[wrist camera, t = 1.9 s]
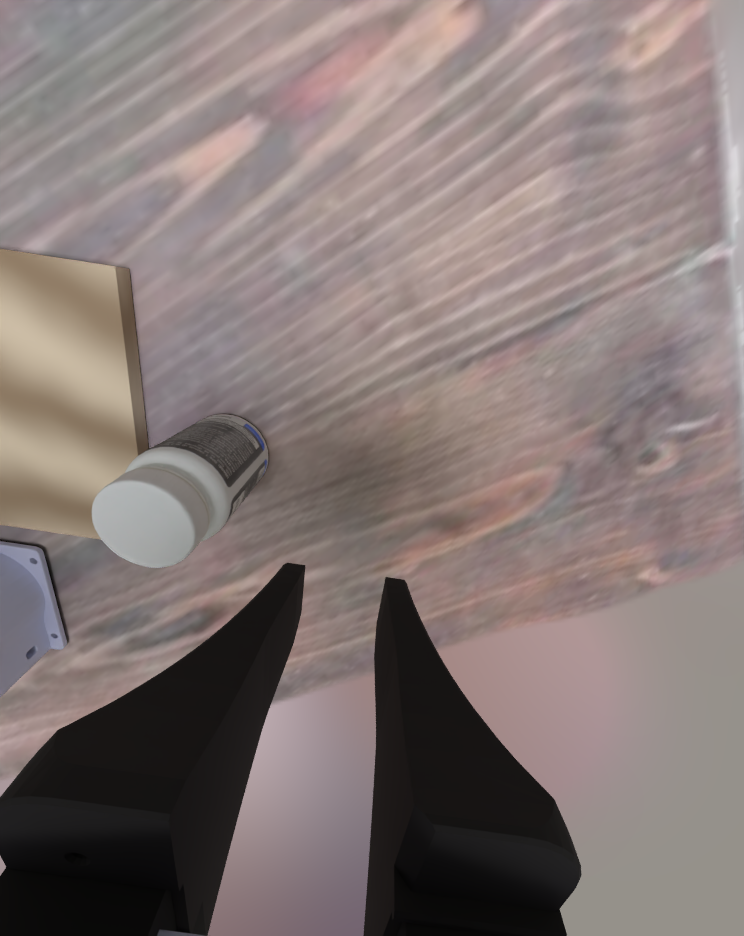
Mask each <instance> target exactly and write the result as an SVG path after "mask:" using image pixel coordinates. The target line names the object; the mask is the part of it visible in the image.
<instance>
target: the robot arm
mask: <svg viewBox="0 0 744 936" xmlns="http://www.w3.org/2000/svg"><path fill="white" fill-rule="evenodd" d="M304 575H305V565H299V564H292V563H286V564H284V565H283V566H282V568H281V569H280V570H279V571H278V572H277V574H276V575H275V576H274V577H273V578H272V579H271V580H270V582H269V583H268V584H267V585H266V586H265V587H264V588H263V589H262V590H261V591H260V592H259V593H258V594H257V595H256V596H255V597H254V598H253V599H252V600H251V601H250V602H249V603H248V604H247V605H246V606H245V607H244V608H243V609H242V610H241V611H240V612H239V613H238V614H237V615H235V616H234V617H233V618H232V619H231V620H230V621H229V622H228V623H227V624H225V625H224V626H223V627H222V628H221V629H220V630H218V631H217V632H216V633H215V634H214V635H212V636H211V637H210V638H209V639H207V640H206V641H205V642H203V643H202V644H201V645H200V646H198V647H197V648H196V649H194V650H193V651H192V652H190V653H189V654H187V655H186V656H185V657H183V658H182V659H180V660H179V661H177V662H176V663H175V664H173V665H172V666H170V667H169V668H167V669H166V670H164V671H163V672H161V673H160V674H158V675H157V676H155V677H153V678H152V679H150V680H148V681H147V682H145V683H143V684H142V685H140V686H139V687H137V688H135V689H134V690H132V691H130V692H129V693H127V694H125V695H124V696H122V697H120V698H118V699H117V700H115V701H113V702H111V703H110V704H108V705H106V706H104V707H102V708H100V709H98V710H96V711H94V712H92V713H90V714H88V715H87V716H85V717H83V718H81V719H79V720H77V721H75V722H73V723H71V724H69V725H67V726H65V727H63V728H61V729H59V730H57V732H56V733H55V734H54V735H53V736H52V737H51V738H50V739H49V740H48V741H47V742H46V743H45V744H44V746H43V747H42V748H41V749H40V750H39V751H38V752H37V753H36V754H35V755H34V757H33V758H32V759H31V760H30V761H29V762H28V764H27V765H26V766H25V767H24V768H23V770H22V771H21V772H20V773H19V775H18V776H17V777H16V778H15V780H14V781H13V782H12V783H11V785H10V786H9V787H8V788H7V789H6V791H5V792H4V793H3V795H2V796H1V797H0V856H1V858H2V860H3V861H4V863H5V865H6V869H5V870H4V872H3V873H2V874H1V876H0V936H207V935H208V931H209V927H210V923H211V919H212V915H213V911H214V907H215V903H216V899H217V895H218V891H219V887H220V884H221V880H222V876H223V872H224V868H225V864H226V860H227V856H228V853H229V849H230V845H231V841H232V837H233V834H234V830H235V826H236V822H237V818H238V814H239V811H240V807H241V804H242V799H243V796H244V793H245V789H246V785H247V782H248V778H249V774H250V770H251V767H252V763H253V759H254V756H255V753H256V749H257V746H258V742H259V738H260V735H261V731H262V728H263V725H264V722H265V719H266V716H267V713H268V710H269V708H270V705H271V702H272V700H273V697H274V694H275V691H276V689H277V686H278V683H279V681H280V678H281V675H282V673H283V670H284V667H285V665H286V662H287V659H288V657H289V654H290V651H291V648H292V646H293V643H294V639H295V635H296V632H297V628H298V624H299V620H300V616H301V610H302V598H303V587H304ZM66 645H67V640H66V636H65V632H64V629H63V625H62V621H61V617H60V613H59V609H58V606H57V602H56V598H55V594H54V590H53V586H52V583H51V579H50V575H49V571H48V567H47V563H46V560H45V556H44V552H43V550H42V549H41V548H39V547H36V546H30V545H23V544H17V543H10V542H3V541H0V697H1V696H2V695H3V694H4V693H5V692H6V691H7V690H8V689H9V688H10V687H11V686H12V685H14V684H15V683H16V682H17V681H18V680H19V679H20V678H21V677H22V676H23V675H24V674H25V673H26V672H27V671H28V670H29V669H30V668H31V667H32V666H33V665H34V664H35V663H36V662H37V661H38V660H39V659H40V658H41V657H42V656H43V655H44V654H45V653H46V652H47V651H48V650H50V648H51V649H58V650H60V649H63V648H64V647H65V646H66ZM374 660H375V697H376V699H375V700H376V756H375V774H374V791H373V808H372V823H371V838H370V853H369V868H368V883H367V896H366V910H365V925H364V936H567V934H566V930H565V927H564V924H563V920H562V916H561V913H560V910H559V909H560V908H561V906H562V905H563V903H564V902H565V901H566V899H568V897H569V896H570V895H571V893H572V892H573V891H574V889H575V888H576V886H577V884H578V882H579V880H580V877H581V865H580V862H579V859H578V857H577V853H576V851H575V848H574V845H573V842H572V839H571V837H570V835H569V832H568V829H567V827H566V825H565V822H564V820H563V818H562V816H561V813H560V811H559V809H558V807H557V804H556V802H555V800H554V799H553V798H552V796H550V794H549V793H548V792H547V791H546V790H545V789H544V788H543V787H542V786H541V785H540V784H539V783H538V782H537V781H536V780H535V779H534V778H533V777H532V776H531V775H530V774H529V773H528V772H527V771H526V770H525V769H524V768H523V767H522V765H520V763H519V762H518V761H517V760H516V759H515V758H514V757H513V756H512V755H511V753H510V752H509V751H508V750H507V749H506V748H505V746H504V745H503V744H502V743H501V742H500V741H499V740H498V738H497V737H496V736H495V735H494V733H493V732H492V731H491V730H490V728H489V727H488V726H487V724H486V723H485V722H484V721H483V719H482V718H481V717H480V715H479V714H478V713H477V712H476V711H475V709H474V708H473V706H472V705H471V704H470V702H469V701H468V700H467V698H466V697H465V695H464V694H463V692H462V691H461V690H460V688H459V686H458V685H457V683H456V682H455V680H454V679H453V677H452V676H451V674H450V673H449V671H448V669H447V668H446V666H445V665H444V663H443V661H442V659H441V658H440V656H439V654H438V652H437V650H436V649H435V647H434V645H433V643H432V641H431V639H430V637H429V635H428V633H427V631H426V629H425V627H424V625H423V623H422V621H421V619H420V617H419V614H418V612H417V610H416V607H415V605H414V603H413V600H412V597H411V595H410V592H409V589H408V586H407V583H406V582H405V580H402V579H395V578H388V577H386V579H385V584H384V589H383V594H382V599H381V604H380V609H379V614H378V620H377V626H376V639H375V653H374Z"/></svg>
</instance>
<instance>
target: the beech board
mask: <svg viewBox="0 0 744 936" xmlns="http://www.w3.org/2000/svg"><path fill="white" fill-rule="evenodd" d="M148 449H149V447H148V438H147V428H146V419H145V410H144V401H143V391H142V382H141V373H140V364H139V354H138V345H137V336H136V327H135V317H134V308H133V299H132V289H131V280H130V271H129V269H126V268H120V267H115V266H109V265H102V264H96V263H89V262H83V261H76V260H70V259H63V258H57V257H50V256H44V255H37V254H31V253H24V252H18V251H11V250H5V249H0V525H5V526H12V527H19V528H26V529H33V530H40V531H46V532H53V533H60V534H67V535H74V536H81V537H87V538H94V539H101V538H100V537H99V535H98V533H97V532H96V530H95V528H94V524H93V521H92V505H93V502H94V499H95V497H96V496H97V494H98V493H99V492H100V491H101V490H102V489H103V488H104V487H105V486H107V485H108V484H110V483H111V482H113V481H114V480H116V479H117V478H118V477H120V476H121V475H122V474H124V473H125V471H126V469H127V467H128V466H129V464H130V463H131V462H132V461H133V460H134V459H135V458H136V457H137V456H138V455H140V454H141V453H143V452H144V451H146V450H148Z"/></svg>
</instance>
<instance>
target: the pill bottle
mask: <svg viewBox="0 0 744 936" xmlns="http://www.w3.org/2000/svg"><path fill="white" fill-rule="evenodd" d="M267 465H268V449H267V446H266V443H265V440H264V438H263V436H262V435H261V433H260V432H259V431H258V430H257V429H256V428H255V427H254V426H253V425H252V424H251V423H249V422H248V421H246V420H244V419H242V418H240V417H237V416H234V415H228V414H218V415H213V416H209V417H207V418H205V419H202V420H201V421H199V422H197V423H196V424H194V425H192V426H190V427H188V428H186V429H185V430H183V431H181V432H180V433H177V434H176V435H174V436H172V437H171V438H169V439H167V440H165V441H164V442H162V443H160V444H158V445H156V446H154V447H152V448H150V449H148V450H146V451H144V452H143V453H141V454H140V455H138V456H137V457H136V458H135V459H134V460H133V461H132V462H131V463H130V464H129V466H128V467H127V469H126V471H125V473H124V474H122V475H121V476H120V477H118V478H117V479H116V480H114V481H113V482H111V483H110V484H108V485H107V486H105V487H104V488H103V489H102V490H101V491H100V492H99V493H98V494H97V496H96V497H95V499H94V502H93V505H92V521H93V524H94V528H95V530H96V532H97V533H98V535H99V537H100V538H101V540H102V541H103V542H104V543H105V544H106V545H107V546H108V547H109V548H110V549H111V550H112V551H113V552H114V553H115V554H117V555H118V556H120V557H121V558H123V559H125V560H127V561H129V562H131V563H134V564H137V565H140V566H144V567H150V568H163V567H168V566H172V565H175V564H177V563H179V562H181V561H182V560H184V559H185V558H186V557H187V556H188V555H189V554H190V553H191V552H192V551H193V550H194V548H195V547H196V546H197V545H198V544H199V543H200V542H201V541H204V540H207V539H209V538H210V537H212V536H214V535H215V534H216V533H218V532H219V531H220V530H221V529H222V528H223V526H224V525H225V524H226V522H227V521H228V520H229V519H230V517H231V516H232V514H233V513H234V512H235V511H236V510H237V508H238V507H239V506H240V504H241V503H242V502H243V501H244V499H245V498H246V497H247V496H248V494H249V493H250V491H251V490H252V489H253V488H254V487H255V485H256V484H257V483H258V482H259V480H260V479H261V478H262V476H263V475H264V473H265V471H266V469H267Z"/></svg>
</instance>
